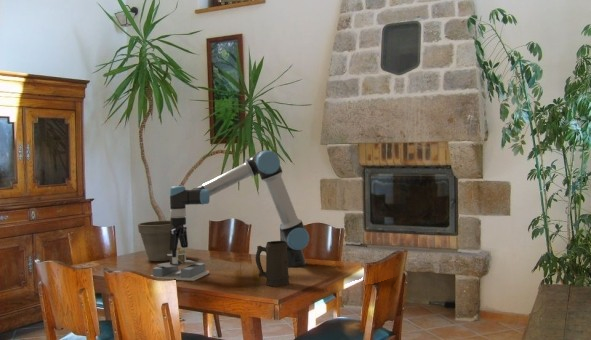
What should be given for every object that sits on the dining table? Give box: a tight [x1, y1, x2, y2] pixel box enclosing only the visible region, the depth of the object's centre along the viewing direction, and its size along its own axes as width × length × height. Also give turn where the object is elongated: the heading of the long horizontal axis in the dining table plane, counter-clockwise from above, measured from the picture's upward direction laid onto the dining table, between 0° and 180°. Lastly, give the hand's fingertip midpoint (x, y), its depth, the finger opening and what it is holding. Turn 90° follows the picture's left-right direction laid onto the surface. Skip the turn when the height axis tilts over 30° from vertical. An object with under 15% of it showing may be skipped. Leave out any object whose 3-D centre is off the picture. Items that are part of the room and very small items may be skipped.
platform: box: [156, 249, 199, 267], centre depth 312 cm, size 12×18×7 cm, turn 127°
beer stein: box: [255, 240, 290, 287], centre depth 289 cm, size 15×11×20 cm
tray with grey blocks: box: [151, 262, 210, 282], centre depth 313 cm, size 24×18×5 cm
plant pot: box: [137, 219, 174, 262], centre depth 365 cm, size 25×25×22 cm
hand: (179, 262), depth 313 cm, fingers closed on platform, 8 cm apart
